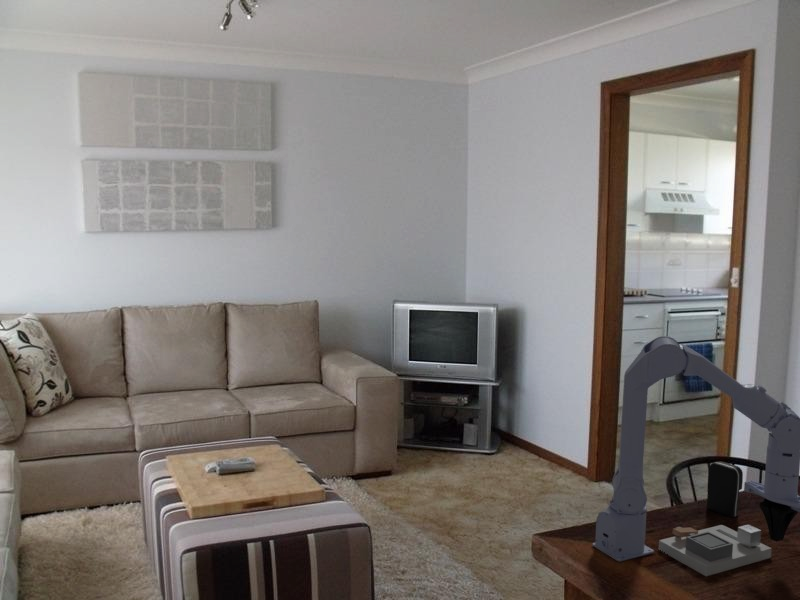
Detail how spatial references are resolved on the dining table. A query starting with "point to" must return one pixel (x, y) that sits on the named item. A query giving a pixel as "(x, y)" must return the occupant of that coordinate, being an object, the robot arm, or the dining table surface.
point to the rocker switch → (684, 531)
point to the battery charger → (724, 488)
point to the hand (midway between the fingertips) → (776, 539)
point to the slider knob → (749, 535)
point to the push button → (709, 541)
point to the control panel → (713, 551)
